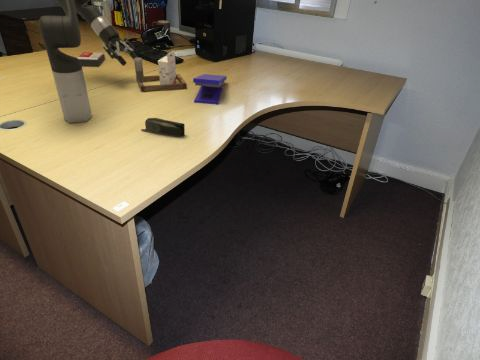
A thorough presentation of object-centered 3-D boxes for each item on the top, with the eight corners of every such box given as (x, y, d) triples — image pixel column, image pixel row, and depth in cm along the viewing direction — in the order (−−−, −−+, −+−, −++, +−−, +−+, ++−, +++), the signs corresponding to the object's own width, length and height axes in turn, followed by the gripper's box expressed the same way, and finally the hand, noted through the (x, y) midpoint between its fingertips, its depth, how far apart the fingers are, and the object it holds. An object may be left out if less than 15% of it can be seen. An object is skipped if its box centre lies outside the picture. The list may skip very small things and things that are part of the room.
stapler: (192, 103, 139) (192, 79, 133) (202, 81, 162) (202, 60, 156) (220, 105, 138) (220, 82, 133) (226, 83, 161) (227, 62, 156)
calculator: (104, 52, 179) (97, 58, 167) (105, 60, 182) (98, 67, 169) (83, 51, 178) (74, 57, 165) (84, 59, 180) (76, 66, 168)
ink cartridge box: (166, 81, 158) (164, 48, 149) (176, 82, 157) (175, 50, 149) (159, 87, 151) (156, 53, 142) (169, 88, 150) (167, 54, 142)
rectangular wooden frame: (186, 88, 151) (185, 61, 144) (139, 91, 144) (136, 63, 137) (179, 78, 161) (178, 52, 154) (135, 80, 154) (132, 54, 148)
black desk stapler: (185, 121, 112) (143, 115, 114) (182, 125, 110) (139, 118, 111) (185, 135, 115) (144, 128, 117) (182, 139, 113) (140, 132, 114)
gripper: (97, 27, 134) (125, 60, 138) (119, 22, 145) (145, 53, 149) (89, 39, 139) (116, 71, 142) (111, 33, 150) (136, 63, 153)
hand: (131, 62), depth 146 cm, fingers open, 8 cm apart
